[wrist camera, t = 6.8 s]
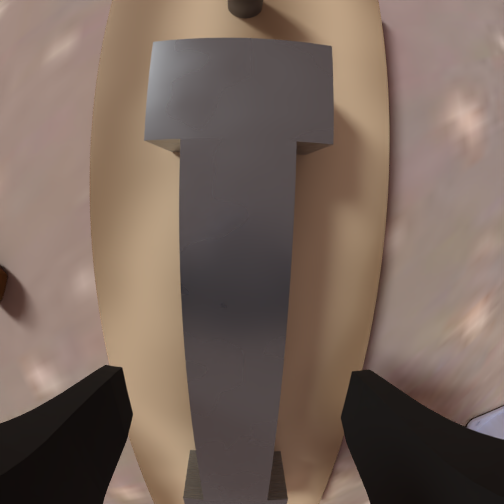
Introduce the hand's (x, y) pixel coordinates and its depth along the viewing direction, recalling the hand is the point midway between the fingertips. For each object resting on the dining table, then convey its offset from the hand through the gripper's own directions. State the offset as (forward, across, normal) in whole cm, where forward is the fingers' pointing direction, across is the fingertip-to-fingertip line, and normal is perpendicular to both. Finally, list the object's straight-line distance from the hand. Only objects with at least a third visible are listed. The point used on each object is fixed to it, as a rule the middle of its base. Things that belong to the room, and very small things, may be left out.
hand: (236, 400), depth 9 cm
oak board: (+6, 0, 0) cm, 6 cm away
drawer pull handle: (+4, 0, 0) cm, 4 cm away
